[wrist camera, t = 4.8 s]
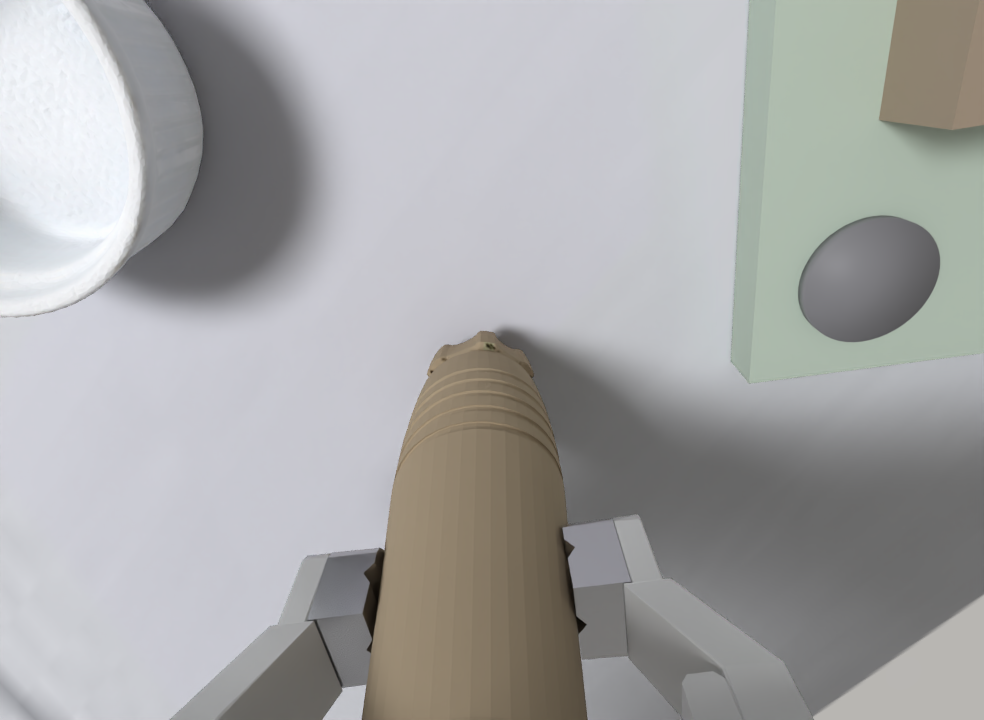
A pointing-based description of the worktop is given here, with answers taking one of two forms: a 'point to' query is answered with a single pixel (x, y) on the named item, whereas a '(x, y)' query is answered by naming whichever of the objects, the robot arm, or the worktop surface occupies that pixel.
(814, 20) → the green board with frame
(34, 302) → the ramekin
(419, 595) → the handle
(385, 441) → the worktop surface
